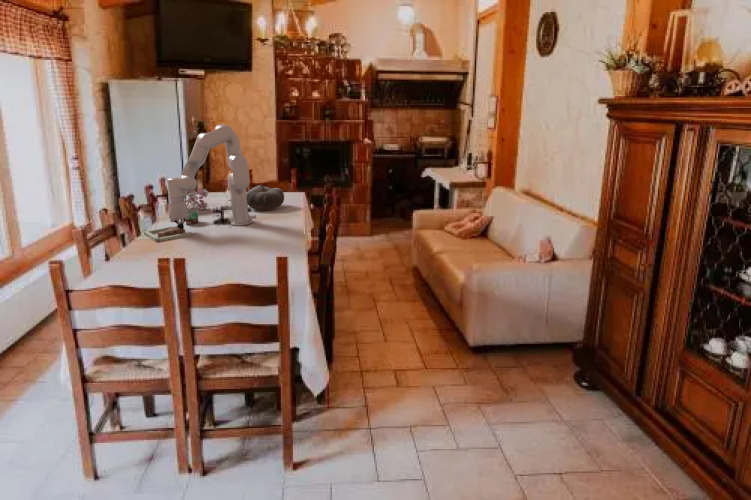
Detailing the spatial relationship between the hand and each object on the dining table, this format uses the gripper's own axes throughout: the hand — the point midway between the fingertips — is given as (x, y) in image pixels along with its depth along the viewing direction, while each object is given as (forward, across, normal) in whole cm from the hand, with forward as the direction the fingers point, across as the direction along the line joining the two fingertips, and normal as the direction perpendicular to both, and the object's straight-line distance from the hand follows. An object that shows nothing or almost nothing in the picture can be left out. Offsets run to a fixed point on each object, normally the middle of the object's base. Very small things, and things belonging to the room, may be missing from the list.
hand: (181, 230), depth 319 cm
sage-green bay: (+1, +7, 0) cm, 7 cm away
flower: (+1, -28, -52) cm, 59 cm away
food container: (+1, -14, -17) cm, 22 cm away
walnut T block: (+1, +8, +2) cm, 8 cm away
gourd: (+2, -66, -22) cm, 70 cm away
